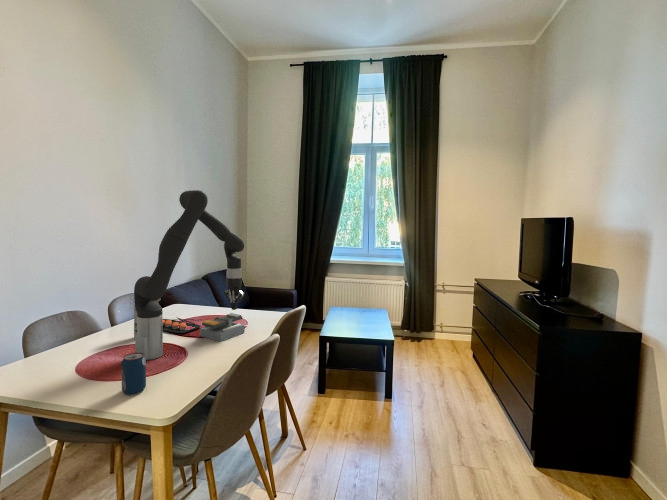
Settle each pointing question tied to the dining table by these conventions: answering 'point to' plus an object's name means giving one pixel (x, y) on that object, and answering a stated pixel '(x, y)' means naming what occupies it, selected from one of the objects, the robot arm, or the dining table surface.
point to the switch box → (219, 334)
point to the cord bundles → (230, 327)
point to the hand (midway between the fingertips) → (234, 309)
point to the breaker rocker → (222, 320)
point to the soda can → (133, 373)
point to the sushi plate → (173, 325)
